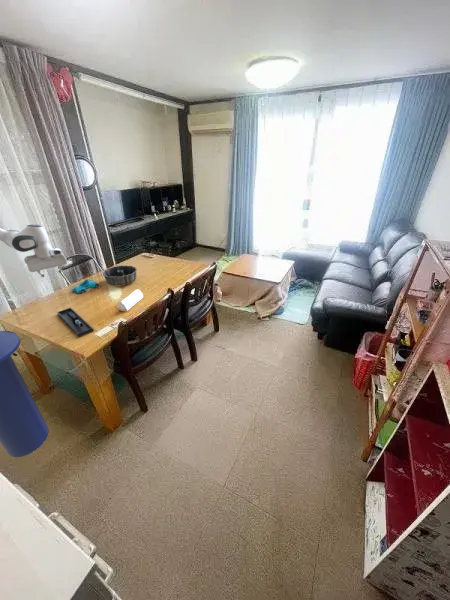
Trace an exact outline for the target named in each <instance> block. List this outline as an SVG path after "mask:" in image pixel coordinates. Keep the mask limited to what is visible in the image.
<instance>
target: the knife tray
mask: <svg viewBox="0 0 450 600" xmlns="http://www.w3.org/2000/svg"><path fill="white" fill-rule="evenodd" d="M66 311H67V312H68V313H69V314H70V315H72V316H73V317H74V318H75V317H78V320H79V321H80V322H81V323H82V324H83V327H79V326H78V325H77V324H75V325H74V324H73V320H72V318H70V317H69V315H68V314H67V313H66ZM57 316H58V317H59V318H60V319H61V320H62V321H63V322H64V323H65V324H66V325H67V326H68V328H69V329H70V330H71V331H73V333H74V334H75V335H76V336H77V337H78V338H81V337H83V336H85V335H87V334H90V333H92V332H94V328H93V327H92V326H91V325H90V324H89V323H88V322H87V321H86V320H85V319H84V318H83V317H82V316H80V315H79V314H78V313H77V312H76V311H75V310H74V309H73V308H72V307H68V308H65V309H62V310H59V311H57Z"/></svg>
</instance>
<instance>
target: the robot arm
mask: <svg viewBox="0 0 450 600" xmlns="http://www.w3.org/2000/svg"><path fill="white" fill-rule="evenodd" d="M47 233H48V232H47V231H46V230H45V228H44V227H43V226H42V225H40V224H27V225H26V226H25V228H23V229H22V230H15V229H14V230H13V229H10V230H9V229H4V228H2V227H0V242H3V243H4V244H5V245H7V246H8V247H9V248H12V249H14V250H15V251H18V252H20V253H25V252H29V251H33V252H34V254H31V255H26V256H25V257H24V259H23V261H24V263H25V264H26V267H27V270H28V271H29V272H31V273H34V272H36V273H37V274H39V275H40V277H41V278H44V277H45V276H46V275H45V273H42V272H41V271H43V270H47V269H52V268H56V267H58V269H57V272H58V274H60V273H62V268H63V266H65V265H68V260H67V258H66V256H65V254H64V253H63V250H62V249H60V248H58V247H52V245H51V244H50V238H49V236H48V234H47Z"/></svg>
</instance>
